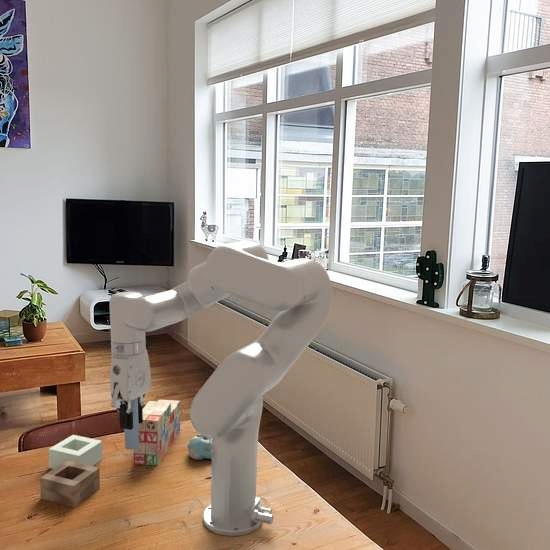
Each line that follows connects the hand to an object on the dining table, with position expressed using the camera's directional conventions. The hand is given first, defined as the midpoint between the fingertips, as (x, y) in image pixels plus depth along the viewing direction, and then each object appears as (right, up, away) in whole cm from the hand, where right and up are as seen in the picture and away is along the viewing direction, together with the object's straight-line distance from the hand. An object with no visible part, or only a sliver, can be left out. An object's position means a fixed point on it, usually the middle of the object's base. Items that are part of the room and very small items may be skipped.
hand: (131, 424), depth 136 cm
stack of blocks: (+1, -12, +24) cm, 27 cm away
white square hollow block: (-17, -13, +13) cm, 25 cm away
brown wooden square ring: (-14, -15, -1) cm, 20 cm away
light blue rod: (0, -5, +1) cm, 5 cm away
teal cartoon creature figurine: (+15, -13, +20) cm, 28 cm away
